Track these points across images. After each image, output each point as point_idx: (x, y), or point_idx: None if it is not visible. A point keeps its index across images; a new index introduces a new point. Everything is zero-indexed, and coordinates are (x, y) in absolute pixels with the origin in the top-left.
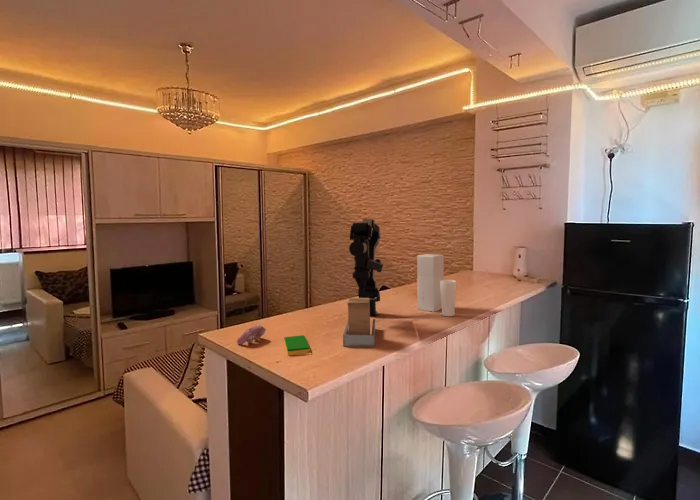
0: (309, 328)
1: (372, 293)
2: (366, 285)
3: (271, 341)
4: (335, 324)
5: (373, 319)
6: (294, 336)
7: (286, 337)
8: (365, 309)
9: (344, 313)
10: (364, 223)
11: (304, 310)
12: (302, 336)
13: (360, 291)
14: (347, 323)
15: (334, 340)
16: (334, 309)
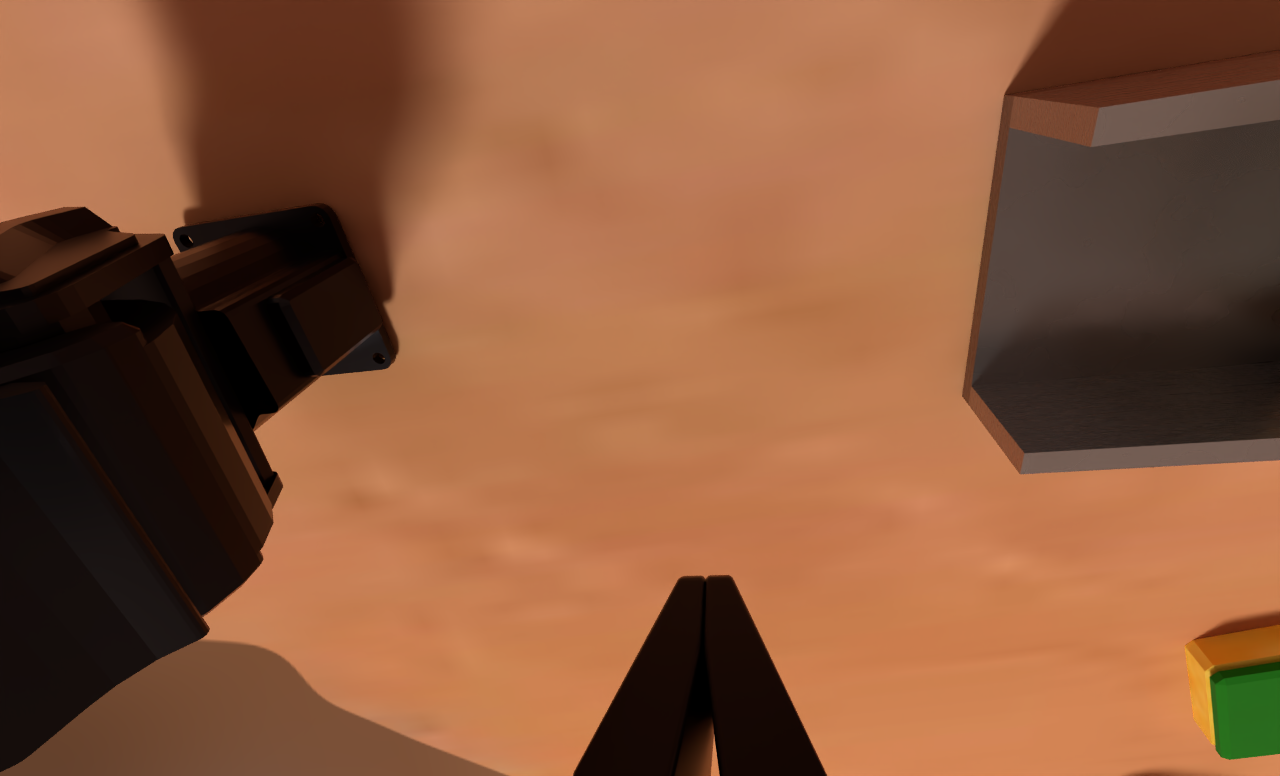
0: (857, 655)
1: (153, 379)
2: (27, 598)
3: (1148, 770)
4: (733, 525)
5: (1123, 134)
6: (1240, 722)
7: (1245, 752)
8: None
9: (369, 513)
10: None
11: (407, 728)
12: (1266, 686)
13: (228, 584)
14: (1254, 455)
15: (1273, 460)
16: (288, 591)
